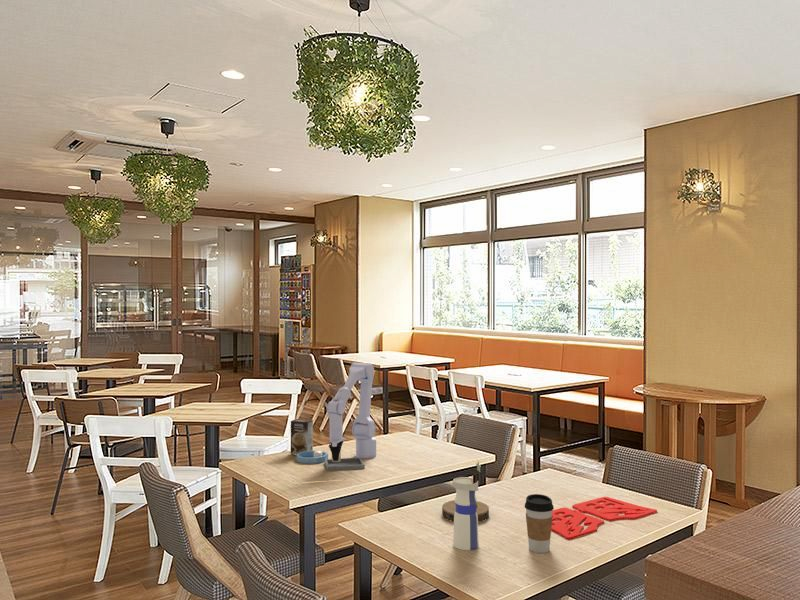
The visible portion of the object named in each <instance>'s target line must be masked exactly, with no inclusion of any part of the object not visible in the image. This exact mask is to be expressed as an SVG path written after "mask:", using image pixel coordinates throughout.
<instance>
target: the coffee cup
mask: <svg viewBox="0 0 800 600" xmlns="http://www.w3.org/2000/svg"><path fill="white" fill-rule="evenodd" d="M524 508H525V512H526V513H525V519H526V520H525V522H526V530H527V541H528V542H527V543H528V550H529V551H531V552H533V553H536V554H546V553H548V552H549V551H550V548H551V545H550V544H551V537H552V536H551V535H552V531H551V527H552V510H555V508H554V505H553V500H552V498H551V497H549V496H548V495H546V494H545V495H544V494H540V493H539V494H538V493H535V494H528V495H527V496H526V499H525V502H524Z"/></svg>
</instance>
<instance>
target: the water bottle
mask: <svg viewBox="0 0 800 600" xmlns="http://www.w3.org/2000/svg"><path fill="white" fill-rule="evenodd" d="M475 465H476V471H478V472H479V473H481V464H480V462H479V461H477V463H475ZM472 481H473V480H472V478H471V477H468V476H460V477H456V478H453V480H452V481H451V484H450V486H451V487H452V488H454V489H455V491H456V492H455V493H456V494H455V497H454V499H453V500H454V502H455V503H456V511H455V514H454V522H453V540H452V543H453V544H452V546H453V547H454V548H455V549H457V548H458V550H463V551H473V550H476V549H478V548H479V547H480V542H479V541H480V539H479V522H478V515H477V512H476V510H477V509H478V499H477V497H476V492H478V493H479V491H480V490H479V480H477V481H476V482H475V483H472Z"/></svg>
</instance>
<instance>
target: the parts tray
mask: <svg viewBox="0 0 800 600" xmlns="http://www.w3.org/2000/svg"><path fill="white" fill-rule="evenodd" d="M324 465H325V468H326V471H327V472H333V471H346V470H347V471H349V470H364V469H365V465H366V464H365V463H364V461H363V459H362V458H356V457H345V458H342V457H341V462H332V458H328V459H325V462H324Z"/></svg>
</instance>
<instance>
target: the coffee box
mask: <svg viewBox="0 0 800 600" xmlns="http://www.w3.org/2000/svg"><path fill="white" fill-rule="evenodd" d="M313 431H314V420H313V419H301V418H295V419H293V420H290V455H291V454H298V453H300V452H304V451H314V450H313V449H314V448H313V447H314V446H313V445H314V443H313V442H314V439H313V437H314V432H313Z"/></svg>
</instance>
